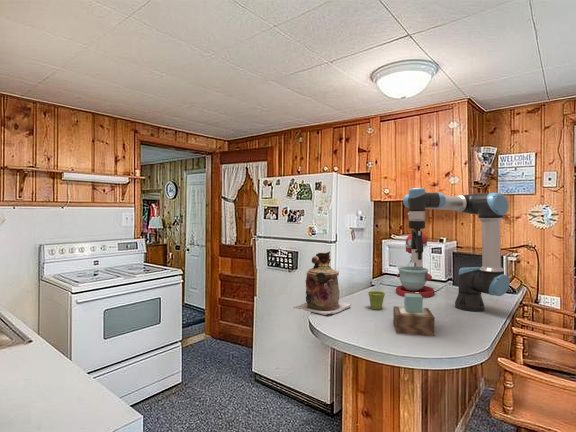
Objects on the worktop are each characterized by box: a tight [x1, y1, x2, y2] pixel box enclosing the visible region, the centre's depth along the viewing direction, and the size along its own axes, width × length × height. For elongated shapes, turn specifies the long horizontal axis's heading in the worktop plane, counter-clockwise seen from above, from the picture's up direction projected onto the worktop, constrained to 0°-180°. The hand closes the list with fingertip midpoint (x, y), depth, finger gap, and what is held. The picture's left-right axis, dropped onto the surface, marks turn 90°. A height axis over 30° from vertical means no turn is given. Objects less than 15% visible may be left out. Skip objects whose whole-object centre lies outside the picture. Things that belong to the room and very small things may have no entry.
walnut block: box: [392, 305, 436, 337], centre depth 171 cm, size 16×16×8 cm
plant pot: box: [367, 290, 386, 311], centre depth 207 cm, size 9×9×9 cm
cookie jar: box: [292, 250, 352, 316], centre depth 206 cm, size 25×25×32 cm
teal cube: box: [403, 293, 424, 313], centre depth 171 cm, size 7×7×7 cm
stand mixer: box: [395, 232, 435, 298], centre depth 247 cm, size 24×32×40 cm
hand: (416, 264), depth 178 cm, fingers open, 13 cm apart
